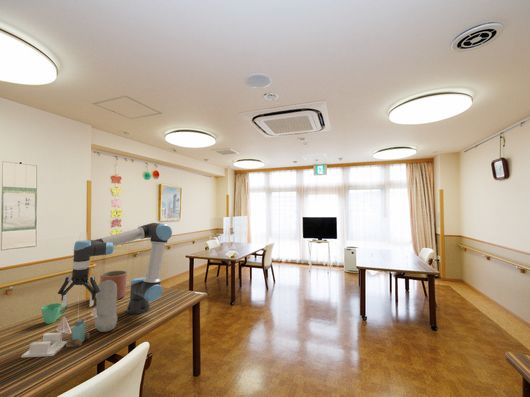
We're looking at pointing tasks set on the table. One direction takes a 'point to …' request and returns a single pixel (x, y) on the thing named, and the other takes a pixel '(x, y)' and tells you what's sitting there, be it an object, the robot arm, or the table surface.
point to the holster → (76, 341)
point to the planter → (116, 281)
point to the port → (46, 346)
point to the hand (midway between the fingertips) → (78, 306)
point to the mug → (52, 312)
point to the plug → (79, 330)
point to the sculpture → (106, 306)
